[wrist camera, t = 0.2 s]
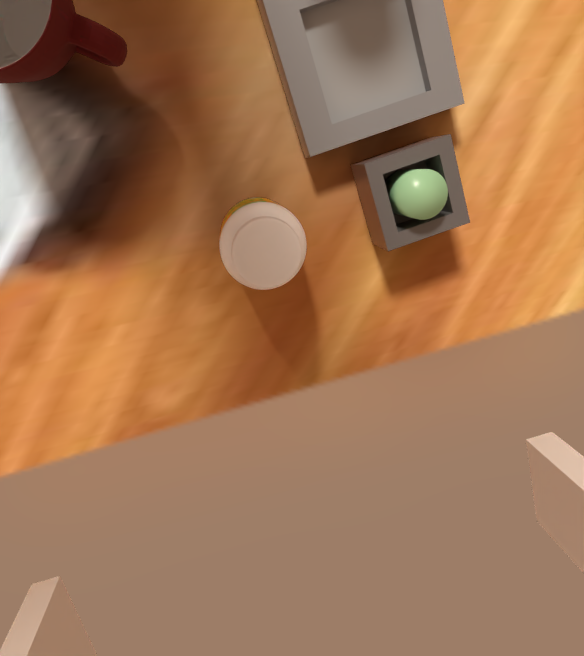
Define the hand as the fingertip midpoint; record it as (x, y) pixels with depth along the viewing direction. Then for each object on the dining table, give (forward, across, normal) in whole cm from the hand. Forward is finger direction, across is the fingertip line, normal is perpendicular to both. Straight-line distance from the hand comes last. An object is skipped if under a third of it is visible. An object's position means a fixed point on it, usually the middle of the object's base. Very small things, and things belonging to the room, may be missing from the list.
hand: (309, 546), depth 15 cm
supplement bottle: (+28, +2, +5) cm, 28 cm away
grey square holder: (+27, +13, +6) cm, 31 cm away
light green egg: (+26, +13, +6) cm, 30 cm away
